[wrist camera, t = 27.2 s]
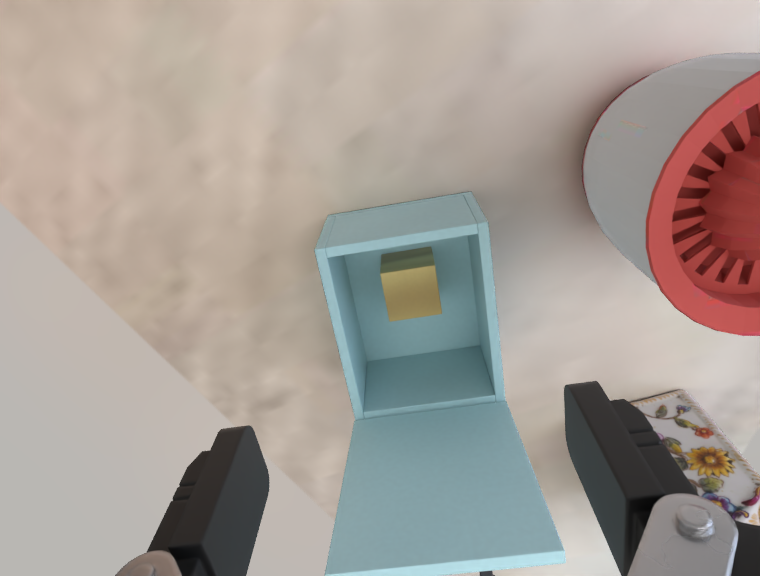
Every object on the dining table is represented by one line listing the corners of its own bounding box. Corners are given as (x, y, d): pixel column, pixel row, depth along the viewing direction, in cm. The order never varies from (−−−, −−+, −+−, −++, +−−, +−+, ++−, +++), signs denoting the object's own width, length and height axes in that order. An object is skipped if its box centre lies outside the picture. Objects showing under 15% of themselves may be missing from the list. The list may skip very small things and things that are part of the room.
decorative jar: (696, 470, 57) (820, 640, 40) (588, 494, 59) (665, 667, 42) (685, 383, 52) (819, 535, 36) (568, 412, 54) (645, 570, 38)
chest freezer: (327, 215, 46) (313, 249, 38) (471, 191, 45) (488, 221, 37) (361, 364, 52) (355, 421, 44) (488, 346, 51) (505, 401, 43)
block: (381, 254, 46) (379, 273, 42) (431, 246, 46) (435, 265, 42) (389, 299, 48) (389, 322, 44) (438, 291, 48) (442, 314, 44)
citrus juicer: (755, 232, 46) (996, 352, 27) (553, 249, 47) (657, 376, 29) (796, 34, 39) (1144, 20, 21) (561, 59, 40) (700, 66, 22)
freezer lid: (324, 575, 28) (343, 654, 29) (564, 550, 27) (573, 634, 28) (354, 420, 44) (365, 476, 45) (506, 400, 43) (513, 458, 44)
